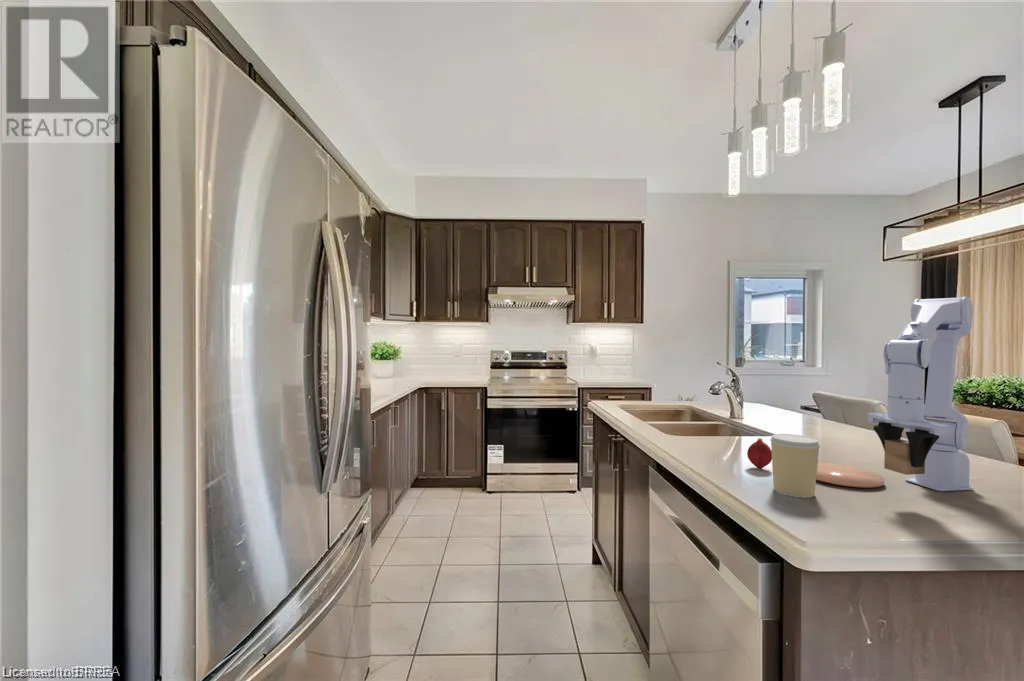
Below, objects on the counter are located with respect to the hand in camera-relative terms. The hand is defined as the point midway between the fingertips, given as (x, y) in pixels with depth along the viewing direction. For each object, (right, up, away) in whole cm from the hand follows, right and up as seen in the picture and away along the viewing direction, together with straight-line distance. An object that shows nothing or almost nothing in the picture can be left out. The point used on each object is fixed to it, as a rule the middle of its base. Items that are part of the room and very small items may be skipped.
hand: (904, 463), depth 94 cm
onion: (-16, -8, +25) cm, 31 cm away
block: (0, -2, 0) cm, 2 cm away
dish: (-1, -8, +17) cm, 19 cm away
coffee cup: (-19, -9, +7) cm, 22 cm away
